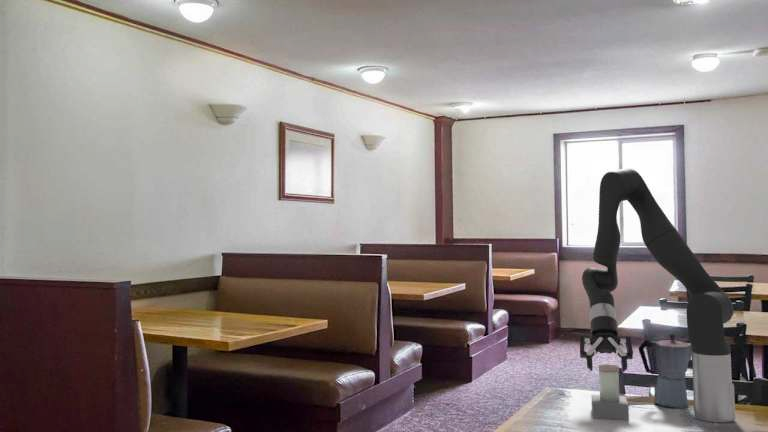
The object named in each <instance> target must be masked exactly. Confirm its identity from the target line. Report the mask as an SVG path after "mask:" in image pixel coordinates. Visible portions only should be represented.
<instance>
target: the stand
mask: <svg viewBox="0 0 768 432" xmlns="http://www.w3.org/2000/svg"><path fill="white" fill-rule="evenodd" d="M590 398H591V414H592V418H593V419H598V420H600V419H601V420H602V419H603V420H619V421H621V420H622V421H629V420H630V417H629V416H630V415H629V414H630V412H629V410H630V409H629V403H628V400H627V398H626V395H619V401H617V402H606V401H602V400H600V394H591V397H590Z"/></svg>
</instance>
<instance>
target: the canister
mask: <svg viewBox="0 0 768 432" xmlns="http://www.w3.org/2000/svg"><path fill="white" fill-rule="evenodd" d="M619 368H620V367H619V366H618V365H616V364H600V365H598V376H599V377H598V378H599V395H600V400H602V401H606V402H617V401H619V396H620V380H619V377H620V376H619V370H620V369H619Z"/></svg>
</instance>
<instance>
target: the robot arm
mask: <svg viewBox="0 0 768 432" xmlns="http://www.w3.org/2000/svg"><path fill="white" fill-rule="evenodd" d="M600 180H601V181H600V183H599V197H598V198H599V199H598V200H599V201H598V227H597V233H596V240H595V245H594V249H593V254H592V259H593V261H594V262H595V263H596V264H598V265H601V266H603V267H606V268H601V267H600V268H599V267H593V266H591V267H587V268H586V269H585V270H584V271H583V272H582V275H581V281H582V285H583V288H584V290H585V293H586V296H587V297H588V298H587V299H588V300H589V301H588V302H589V311H590V312H589V324H590V337H589V338H588V337H585V336H583V335H581V336H580V337H579V344H580V345H579V357H580V359H586V368H587V369H588V370H589V371H590V372H591V371H592V372H593V370H594V369H593V357H595V356H596V355H597V354H598V353H599V354H612V353H613V354H614V355H615V356H616V357H618V358H619V359H620V364H621V371H622V372H623V373H625V371H626V370H628V361H627V360H632V359H634V357H633V355H634V350H633V345H632V340H631V337H630V336H626V337H625V338H620V337H619V331H618V321H617V314H616V309H615V300H614V295H613V294H612V293H611V292H614V291H615V290H616V289H617V288H618V284H619V280H618V271H617V270H618V268H617V261H618V256H619V250H620V245H621V232H620V229H619V225H618V219H617V218H618V216H617V215H618V210H619V206H620V204H621V202H623V201H627V202H628V203H629V204H630V205H631V207H632V208H633V210H634V212H636V214H637V216H638V220H639V223H640V233H641V238H642V241H643V243H644V245H645V247H646V248H647V250H648V251H649V253H650V254H651V256H652V258H653V259H655V261H656V262H657V263H658V264H659V266H660V267H662V268H663V269H664V270H665V271H666V272H668V273H669V274H670V275H672V276H673V277H674V278H675V279H676V280H678V282H680V283H681V284H682V285H683V287H684V288H685V289H686V290H687V292H688V293H689V295H690V296H691V297H689V299H688V301H687V304H686V311H685V312H686V325H687V326H686V327H687V336H688V337H687V338H688V341H689V344H691V346H692V356H691V362H692V363H691V364H692V387H693V390H692V391H693V392H692V393H693V394H692V395H693V417H695V419H699V420H702V421H704V422H705V421H706V422H709V423H729V422H736V405H735V404H736V403H735V401H736V400H735V385H734V383H733V382H732V359H731V358H732V356H731V355H732V354H731V352H732V351H731V343H730V342H729V341H728V340H727V339H726V337H725V332H724V331H725V330H724V325H725V324H726V323H728V322H730V320H731V319H732V318H733V315H734V305H733V302H732V300H731V298H730V297H729V296H728V295H727V293H726V292H725V291H724V290H723V289H722V288H721V286H719V284H718V283H717V282H716V281H715V280H714V279H713V278H712V277H711V275H710V274H709V273H708V272H707V271H706V270H705V268H704V267H703V265H702V264H701V263H700V260H699V259H698V258H697V257H696V255H695V253H694V252H693V251H692V250H691V248H690V247H689V246H688V244H687V242H686V241H685V240H684V238H683V237H682V235H681V234H680V233H679V231H678V230H677V229H676V227H675V226H674V224H672V222H671V220H669V218H668V217H667V215H666V214H665V212H664V211H663V210H662V208H661V206H660V205H659V203H658V202H657V201H656V198H655V197H654V196H653V194H652V192H651V190H650V189H649V186H648V185H647V183H646V182H645V180H644V178H643V177H642V176H641V174H640V173H639V172H638V171H637V170H636V169H633V168H620V169H614V170H611V171H607V172H606V173H605V174H603V175H602V178H601V179H600ZM588 344H590V345H591V347H590V348H589V349H588V350H587V351H585V347H586V346H587V347H588ZM621 344H622V345H623V347H624V348H626V352H625V351H624V350H623V348H622V347H621V346H620V345H621Z"/></svg>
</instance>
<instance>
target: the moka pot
mask: <svg viewBox="0 0 768 432" xmlns="http://www.w3.org/2000/svg"><path fill="white" fill-rule="evenodd" d="M646 347H648V348H650V349H654V352H655V361H656V362H655V363H656V369H657V379H656V380H657V381H656V388H655V393H654V399H653V403H655V404H657V405H659V406H662V407H666V408H675V409H682V408H684V409H685V408H686V407H687V408H688V403H689V402H688V393H687V381H686V379H685V378H686V372H688V366H689V362H690V359H692V346H691V343H688V342H683V341H679V340H676V334H673V333H672V334H669V339H664V340H663V339H662V340H658V341H657V340H655V341H653V340H648V339H645V340H644V341H643V342H642V343H641V344H640V345H639V346H638V352H639V355H640V358H641V359H642V363H643V367H644V369H645V372H646V373H650V374H655V372H656V370H655V369H651V368H650V367H649V364H648V360H647V357H646V353H645V350H644V348H646Z"/></svg>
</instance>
